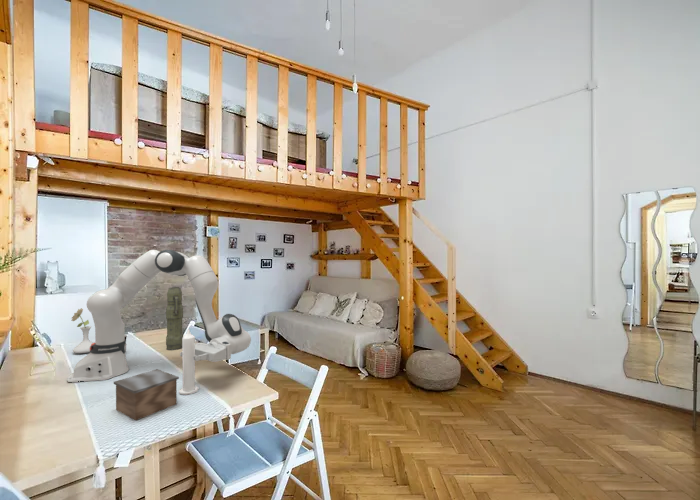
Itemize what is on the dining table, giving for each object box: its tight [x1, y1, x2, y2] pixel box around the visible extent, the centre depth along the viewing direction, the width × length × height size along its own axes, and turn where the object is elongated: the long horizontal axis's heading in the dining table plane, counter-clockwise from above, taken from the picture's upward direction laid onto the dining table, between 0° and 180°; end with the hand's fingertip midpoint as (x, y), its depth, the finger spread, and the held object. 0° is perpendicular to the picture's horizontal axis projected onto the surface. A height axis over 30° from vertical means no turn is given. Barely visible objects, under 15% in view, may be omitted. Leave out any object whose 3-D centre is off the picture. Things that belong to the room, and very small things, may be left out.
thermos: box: [165, 286, 184, 351], centre depth 195 cm, size 9×12×35 cm
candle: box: [178, 328, 199, 396], centre depth 135 cm, size 7×7×25 cm
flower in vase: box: [70, 308, 94, 354], centre depth 187 cm, size 13×11×25 cm
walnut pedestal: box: [113, 368, 180, 421], centre depth 122 cm, size 15×15×10 cm
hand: (187, 356), depth 135 cm, fingers open, 8 cm apart
